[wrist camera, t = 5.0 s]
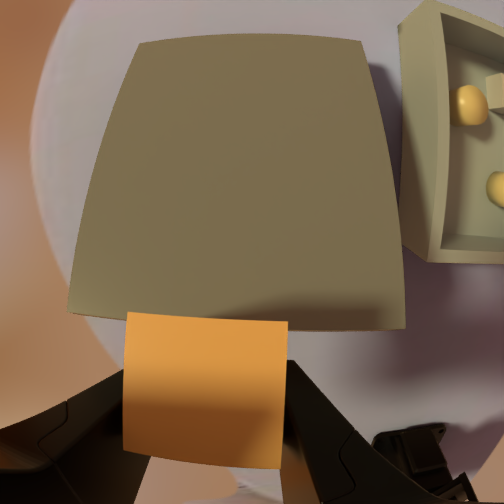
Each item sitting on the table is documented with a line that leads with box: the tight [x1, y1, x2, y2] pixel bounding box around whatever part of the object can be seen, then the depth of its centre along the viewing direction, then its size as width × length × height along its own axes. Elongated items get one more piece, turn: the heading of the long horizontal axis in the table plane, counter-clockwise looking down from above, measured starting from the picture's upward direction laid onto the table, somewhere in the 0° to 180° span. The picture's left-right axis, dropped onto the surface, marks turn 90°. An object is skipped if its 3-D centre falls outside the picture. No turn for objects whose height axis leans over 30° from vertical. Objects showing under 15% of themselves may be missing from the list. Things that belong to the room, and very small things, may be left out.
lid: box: [67, 34, 406, 469], centre depth 9 cm, size 15×10×5 cm
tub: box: [398, 0, 504, 264], centre depth 12 cm, size 12×10×4 cm
